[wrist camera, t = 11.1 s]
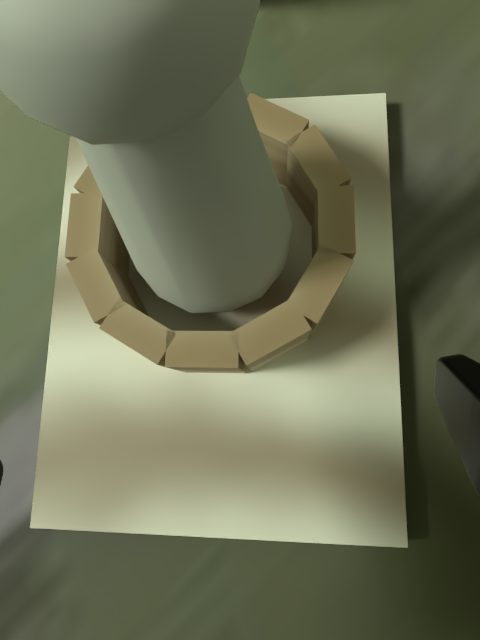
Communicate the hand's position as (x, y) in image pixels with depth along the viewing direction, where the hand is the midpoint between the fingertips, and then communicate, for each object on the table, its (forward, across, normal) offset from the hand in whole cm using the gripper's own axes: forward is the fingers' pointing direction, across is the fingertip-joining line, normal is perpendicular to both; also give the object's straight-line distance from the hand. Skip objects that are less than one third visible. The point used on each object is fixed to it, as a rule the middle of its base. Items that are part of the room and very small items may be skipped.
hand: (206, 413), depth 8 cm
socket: (+9, 0, +3) cm, 10 cm away
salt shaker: (+10, 0, +1) cm, 10 cm away
